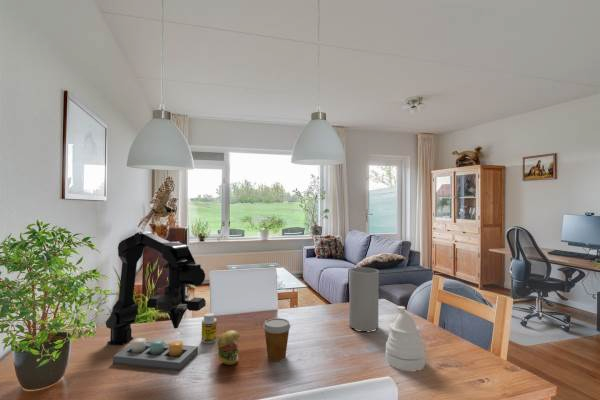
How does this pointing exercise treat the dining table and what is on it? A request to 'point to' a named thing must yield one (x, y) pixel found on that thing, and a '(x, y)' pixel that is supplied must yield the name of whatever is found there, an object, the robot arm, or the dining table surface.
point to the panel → (156, 358)
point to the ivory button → (138, 345)
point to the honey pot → (405, 343)
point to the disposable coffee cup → (276, 338)
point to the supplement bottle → (209, 328)
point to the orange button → (175, 348)
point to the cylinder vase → (364, 298)
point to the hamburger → (228, 347)
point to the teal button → (156, 347)
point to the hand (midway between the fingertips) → (176, 328)
